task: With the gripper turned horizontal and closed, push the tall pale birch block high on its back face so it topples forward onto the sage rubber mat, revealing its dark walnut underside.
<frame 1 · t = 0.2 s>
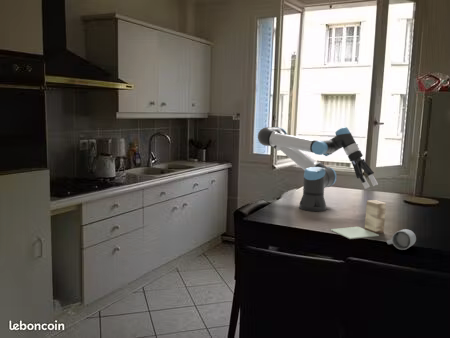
hand: (371, 186, 222), 15 cm above the table, tool tilted 35°, fingers open, 13 cm apart
ceramic mug: (400, 247, 167), on the table
birch block: (373, 231, 189), on the table
sage mat: (354, 233, 185), on the table
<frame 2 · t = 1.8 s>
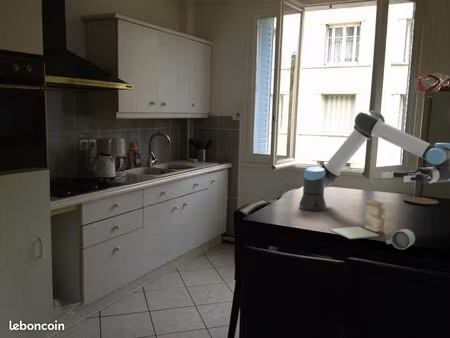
hand: (393, 177, 190), 25 cm above the table, tool horizontal, fingers open, 13 cm apart
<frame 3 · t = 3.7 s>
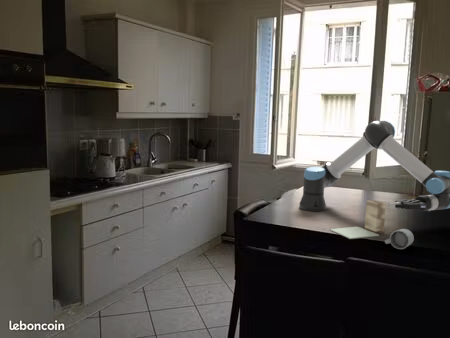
hand: (388, 206, 190), 12 cm above the table, tool horizontal, fingers closed
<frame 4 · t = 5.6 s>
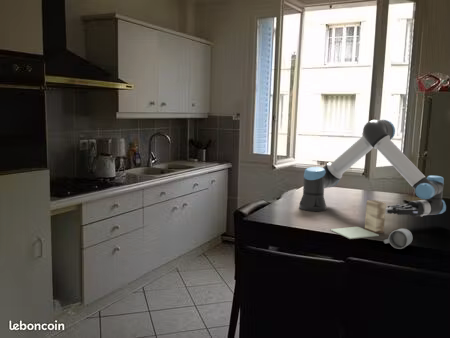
hand: (380, 211, 188), 9 cm above the table, tool horizontal, fingers closed
birch block: (373, 231, 189), on the table, touching gripper
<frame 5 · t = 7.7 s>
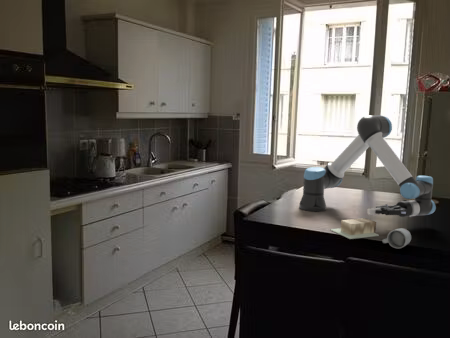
hand: (368, 211, 186), 9 cm above the table, tool horizontal, fingers closed
birch block: (370, 225, 188), point 3 cm above the table, tilted 90°, touching sage mat
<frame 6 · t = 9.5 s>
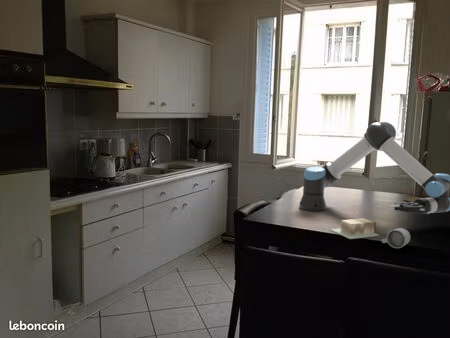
hand: (388, 208, 190), 10 cm above the table, tool horizontal, fingers closed
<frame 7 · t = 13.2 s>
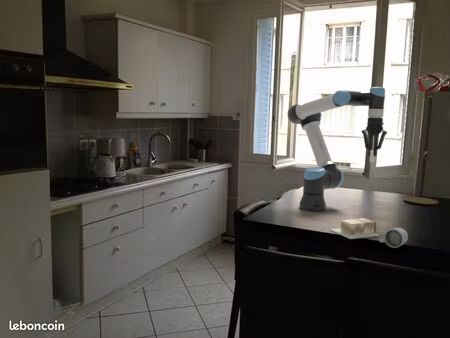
hand: (371, 162, 214), 29 cm above the table, tool pointing down, fingers closed
at the end: birch block tilted 90°; birch block touching sage mat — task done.
